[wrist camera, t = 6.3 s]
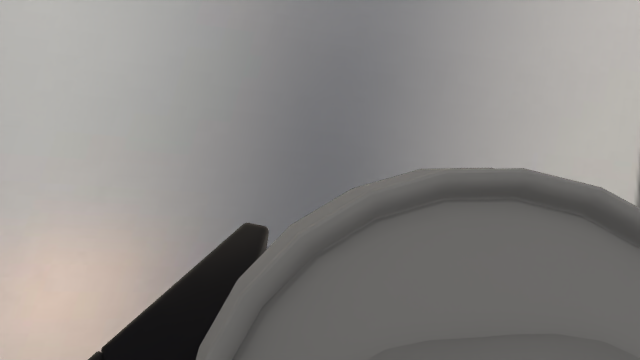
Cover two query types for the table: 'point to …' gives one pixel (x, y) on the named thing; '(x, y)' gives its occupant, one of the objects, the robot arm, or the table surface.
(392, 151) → the table surface
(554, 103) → the table surface
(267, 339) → the beverage can
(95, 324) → the table surface
